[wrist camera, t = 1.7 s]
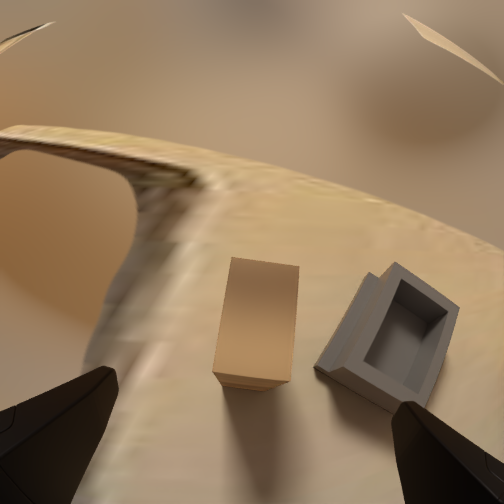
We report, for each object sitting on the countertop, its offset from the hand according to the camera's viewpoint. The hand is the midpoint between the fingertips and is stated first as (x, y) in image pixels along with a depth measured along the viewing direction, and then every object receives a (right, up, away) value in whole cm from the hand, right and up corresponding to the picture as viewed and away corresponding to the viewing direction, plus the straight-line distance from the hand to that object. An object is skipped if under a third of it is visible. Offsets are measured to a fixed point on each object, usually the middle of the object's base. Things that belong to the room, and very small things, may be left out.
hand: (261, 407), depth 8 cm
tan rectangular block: (-1, -3, +13) cm, 13 cm away
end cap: (+11, -3, +13) cm, 17 cm away
